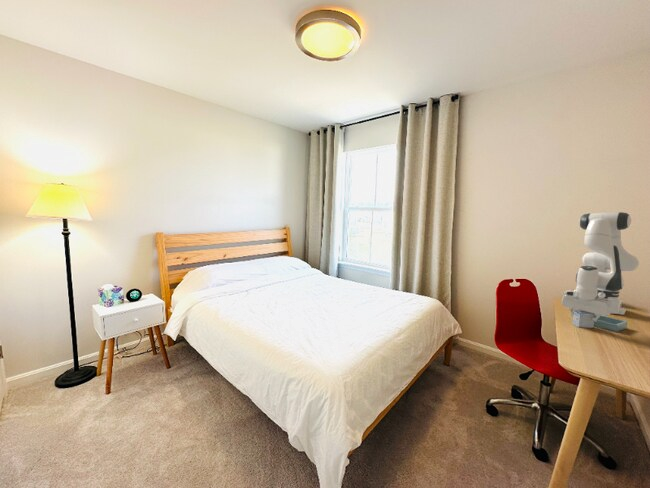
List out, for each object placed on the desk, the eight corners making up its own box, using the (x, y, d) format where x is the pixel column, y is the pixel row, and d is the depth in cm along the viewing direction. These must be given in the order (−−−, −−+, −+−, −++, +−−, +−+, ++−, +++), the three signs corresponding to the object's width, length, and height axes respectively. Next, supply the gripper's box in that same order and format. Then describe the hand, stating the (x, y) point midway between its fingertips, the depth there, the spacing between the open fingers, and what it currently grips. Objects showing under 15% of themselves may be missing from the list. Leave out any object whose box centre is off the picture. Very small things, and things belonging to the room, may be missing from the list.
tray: (588, 318, 163) (589, 312, 163) (626, 328, 149) (627, 321, 149) (578, 322, 157) (579, 315, 157) (616, 332, 143) (617, 325, 143)
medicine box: (586, 325, 153) (588, 310, 152) (593, 328, 148) (595, 313, 148) (572, 324, 153) (573, 310, 153) (578, 327, 149) (580, 312, 148)
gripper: (614, 299, 142) (611, 324, 143) (566, 290, 160) (564, 312, 161) (609, 300, 139) (606, 325, 140) (561, 291, 157) (559, 313, 158)
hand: (583, 318), depth 151 cm, fingers open, 8 cm apart
